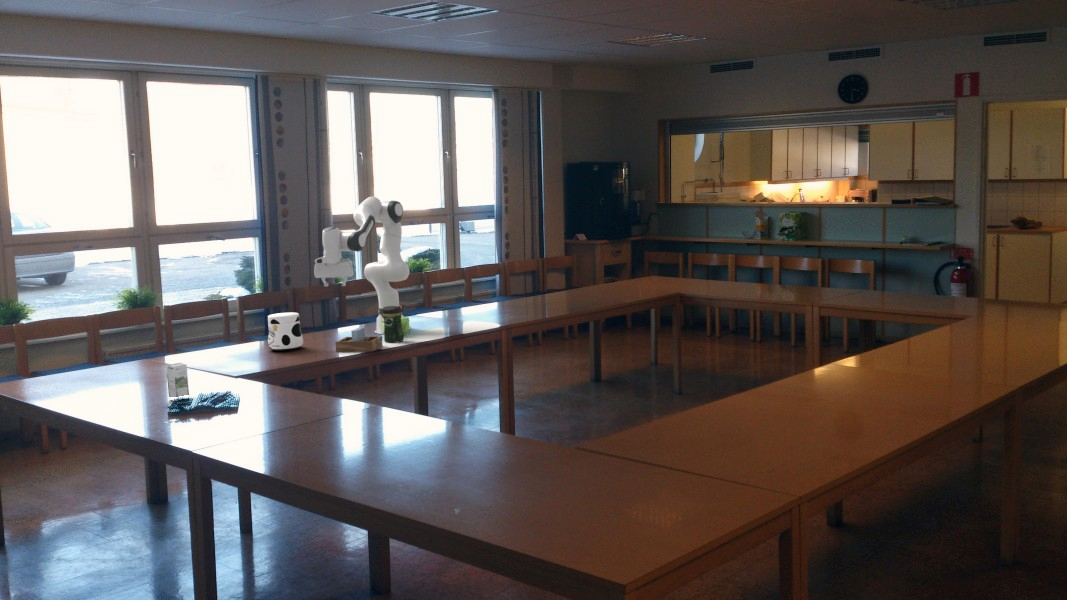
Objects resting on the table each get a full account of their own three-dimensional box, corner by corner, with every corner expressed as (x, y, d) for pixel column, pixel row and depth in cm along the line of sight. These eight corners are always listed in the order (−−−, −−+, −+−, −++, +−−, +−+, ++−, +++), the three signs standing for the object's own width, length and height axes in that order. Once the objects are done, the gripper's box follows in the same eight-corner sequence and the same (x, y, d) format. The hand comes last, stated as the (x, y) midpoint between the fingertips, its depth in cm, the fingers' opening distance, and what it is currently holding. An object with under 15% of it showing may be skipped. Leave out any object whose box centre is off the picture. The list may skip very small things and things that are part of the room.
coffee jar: (406, 340, 493) (403, 305, 490) (397, 343, 486) (395, 307, 483) (390, 339, 497) (388, 304, 495) (381, 342, 490) (379, 306, 488)
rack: (347, 346, 483) (346, 336, 482) (382, 346, 479) (381, 336, 478) (336, 351, 469) (335, 341, 469) (372, 351, 465) (371, 341, 465)
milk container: (261, 352, 480) (258, 316, 478) (285, 345, 495) (282, 311, 493) (287, 353, 472) (284, 317, 470) (310, 347, 487) (308, 312, 485)
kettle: (382, 339, 500) (381, 318, 498) (382, 335, 513) (380, 314, 512) (411, 337, 502) (409, 316, 501) (410, 333, 516) (408, 312, 514)
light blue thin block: (360, 345, 479) (359, 327, 478) (365, 345, 479) (364, 327, 478) (352, 348, 470) (351, 331, 468) (358, 348, 469) (356, 330, 468)
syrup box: (182, 397, 384) (178, 362, 382) (190, 399, 380) (186, 363, 378) (169, 400, 379) (165, 364, 377) (177, 402, 375) (173, 366, 374)
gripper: (354, 257, 482) (356, 284, 484) (316, 259, 486) (319, 285, 488) (349, 259, 476) (351, 286, 478) (311, 260, 480) (314, 287, 482)
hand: (335, 286), depth 483 cm, fingers open, 8 cm apart
